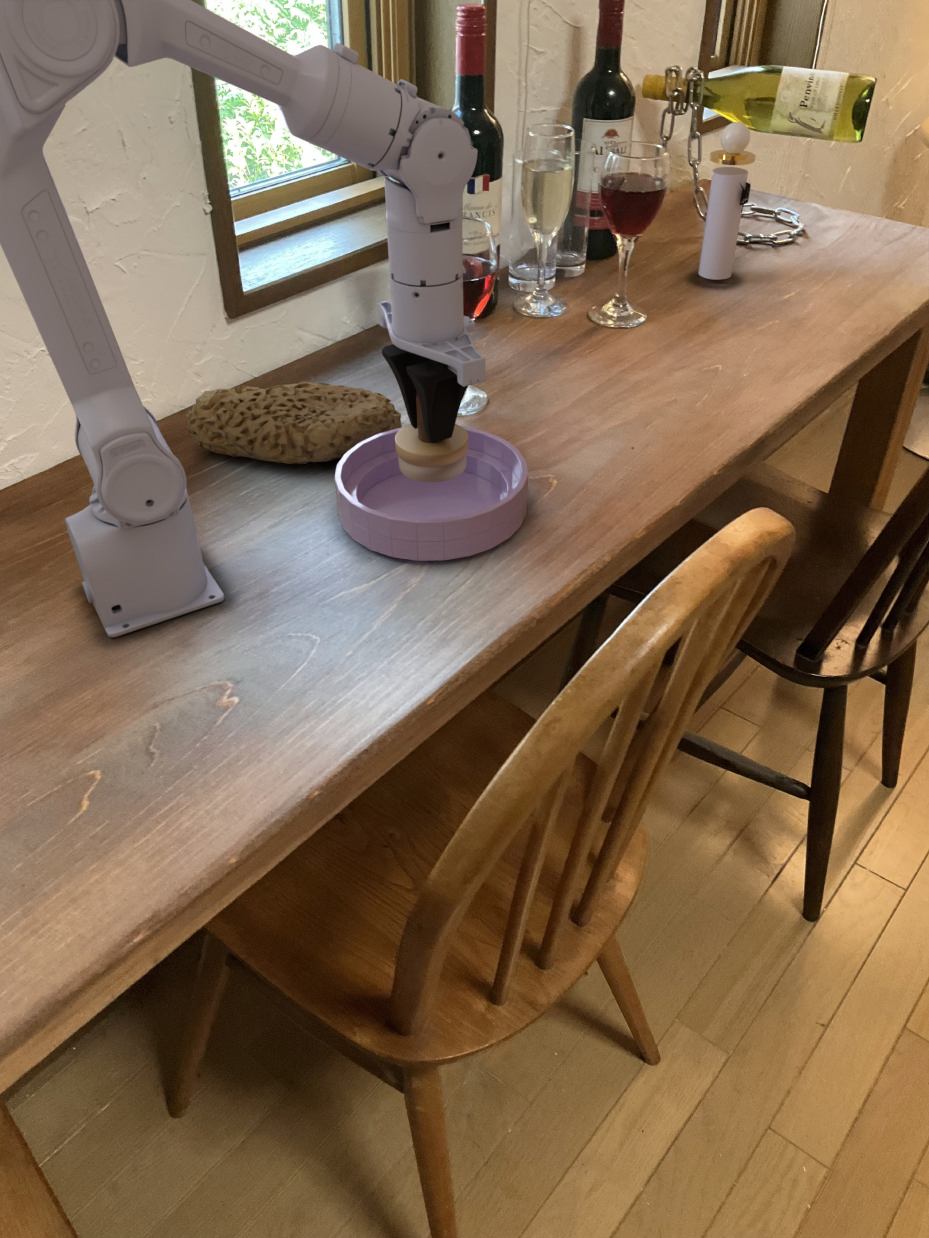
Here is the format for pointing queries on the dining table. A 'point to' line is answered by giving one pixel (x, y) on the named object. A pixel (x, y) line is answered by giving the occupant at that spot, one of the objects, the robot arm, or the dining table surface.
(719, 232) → the white cylinder with ball
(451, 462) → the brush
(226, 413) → the sponge
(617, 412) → the dining table surface
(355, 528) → the bowl
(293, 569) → the dining table surface
